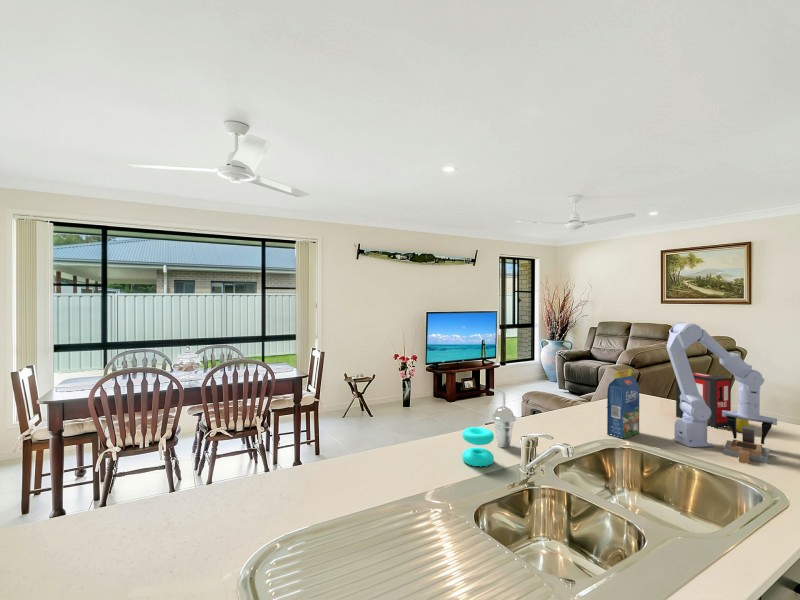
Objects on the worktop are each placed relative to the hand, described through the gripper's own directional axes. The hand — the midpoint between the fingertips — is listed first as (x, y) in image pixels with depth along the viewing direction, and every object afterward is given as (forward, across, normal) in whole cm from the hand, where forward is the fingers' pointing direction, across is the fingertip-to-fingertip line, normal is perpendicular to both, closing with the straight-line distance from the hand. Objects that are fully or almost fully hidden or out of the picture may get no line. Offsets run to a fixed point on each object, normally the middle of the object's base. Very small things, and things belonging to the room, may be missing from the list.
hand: (748, 440), depth 139 cm
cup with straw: (+3, +62, +61) cm, 87 cm away
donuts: (+3, +60, +80) cm, 100 cm away
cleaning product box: (+3, +16, -26) cm, 31 cm away
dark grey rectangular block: (+2, 0, 0) cm, 2 cm away
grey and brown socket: (+2, 0, +11) cm, 12 cm away
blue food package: (+3, +36, +17) cm, 39 cm away
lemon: (+3, +4, -19) cm, 20 cm away
